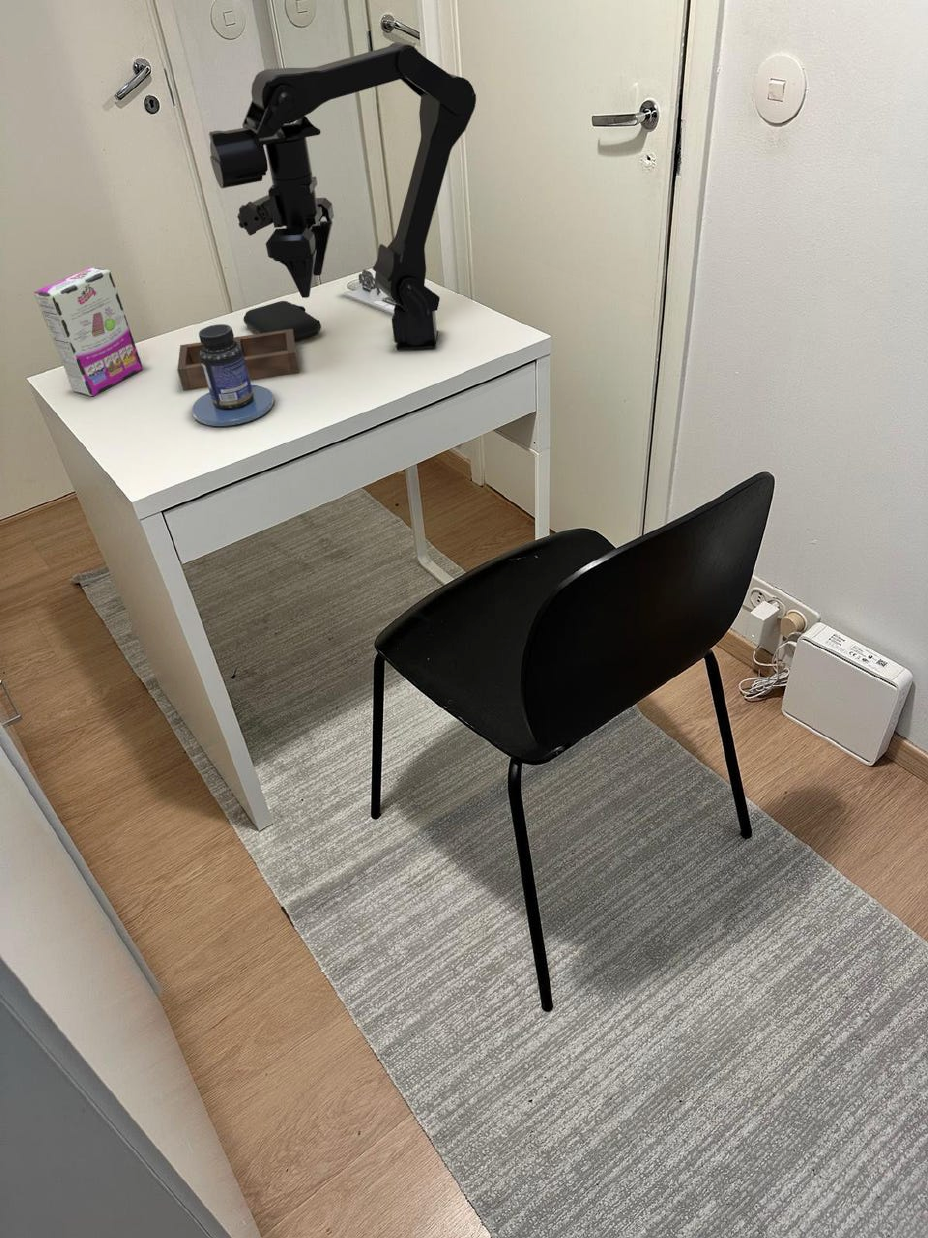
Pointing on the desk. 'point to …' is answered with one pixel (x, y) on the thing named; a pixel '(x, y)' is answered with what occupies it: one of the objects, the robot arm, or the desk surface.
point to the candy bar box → (89, 330)
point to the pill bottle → (225, 368)
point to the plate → (225, 417)
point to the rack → (260, 353)
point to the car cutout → (371, 294)
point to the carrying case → (283, 320)
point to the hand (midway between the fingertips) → (311, 285)
